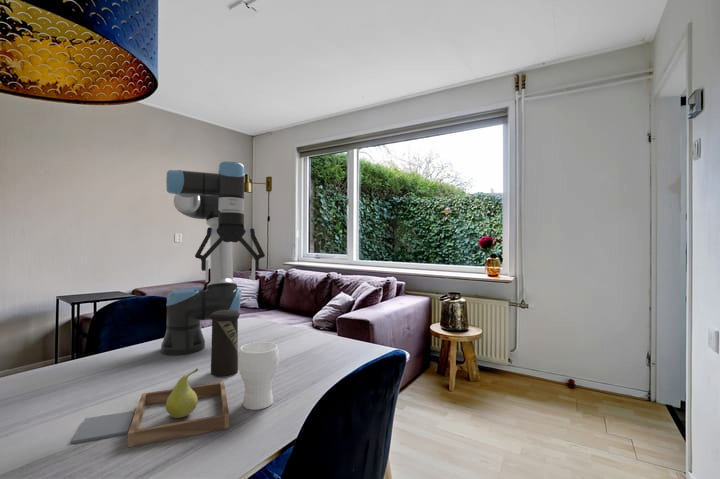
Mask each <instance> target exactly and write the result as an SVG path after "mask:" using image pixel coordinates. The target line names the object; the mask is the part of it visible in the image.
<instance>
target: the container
mask: <svg viewBox="0 0 720 479" xmlns="http://www.w3.org/2000/svg"><path fill="white" fill-rule="evenodd" d="M240 315H241V314H240V311H239V312H238V311H235V310H221V311H216V312H213V313H212V314H211V315H210V318H211V320H210V321H211V347H210V348H211V350H210V351H211V353H210V376H212V377H215V378H216V377H217V378H226V377H230V376H234V375H236V374H237V373H238V372H239V369H238V356H239V339H238V338H239V336H238V335H239V333H238V332H239V330H238V329H239V328H238V326H239V324H238V323H239V322H238V320H239V318H240Z"/></svg>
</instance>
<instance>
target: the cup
mask: <svg viewBox="0 0 720 479" xmlns="http://www.w3.org/2000/svg"><path fill="white" fill-rule="evenodd" d="M279 365H280V352H279V349H278V345H277V344H276V343H274V342H269V341H253V342H250V343H246V344H243V345H242V346H241V347H239V351H238V372H239V375H240V378H241V379H242V381H243V382H244V383H243V384H244V395H243V400H242V406H243V407H244V408H245V409H247V410H254V411H255V410H257V411H258V410H262V409H267V408H268V407H271V405H273V403H274V397H273V391H272V387H273V380H274V378H275V376H276V374H277V371H278V368H279Z"/></svg>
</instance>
